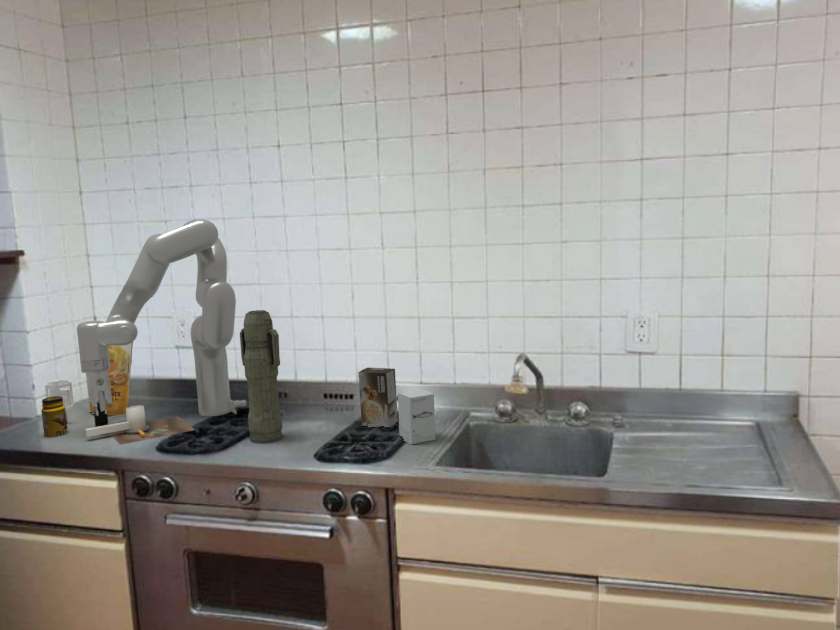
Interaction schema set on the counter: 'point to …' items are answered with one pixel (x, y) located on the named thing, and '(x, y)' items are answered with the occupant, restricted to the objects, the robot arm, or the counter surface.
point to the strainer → (61, 392)
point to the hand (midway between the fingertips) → (102, 428)
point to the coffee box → (378, 397)
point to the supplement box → (416, 416)
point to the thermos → (261, 376)
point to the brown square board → (154, 430)
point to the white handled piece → (124, 423)
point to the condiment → (54, 417)
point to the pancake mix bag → (118, 378)
